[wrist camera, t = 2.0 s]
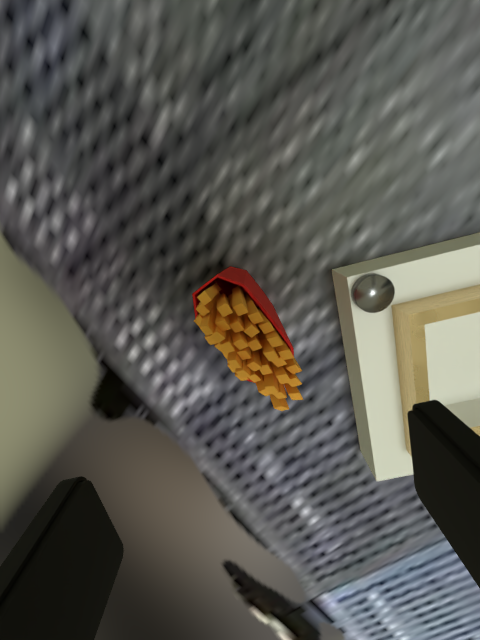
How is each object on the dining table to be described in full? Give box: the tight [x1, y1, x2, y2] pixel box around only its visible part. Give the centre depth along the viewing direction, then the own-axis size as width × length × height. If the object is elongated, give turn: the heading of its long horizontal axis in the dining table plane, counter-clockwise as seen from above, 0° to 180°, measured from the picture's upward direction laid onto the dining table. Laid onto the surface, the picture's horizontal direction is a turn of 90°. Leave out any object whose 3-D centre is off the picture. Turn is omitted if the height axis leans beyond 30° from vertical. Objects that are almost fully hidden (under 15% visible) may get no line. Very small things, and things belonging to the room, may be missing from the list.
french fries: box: [192, 266, 303, 411], centre depth 21 cm, size 8×4×12 cm, turn 37°
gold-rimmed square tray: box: [331, 232, 480, 481], centre depth 25 cm, size 20×20×6 cm
